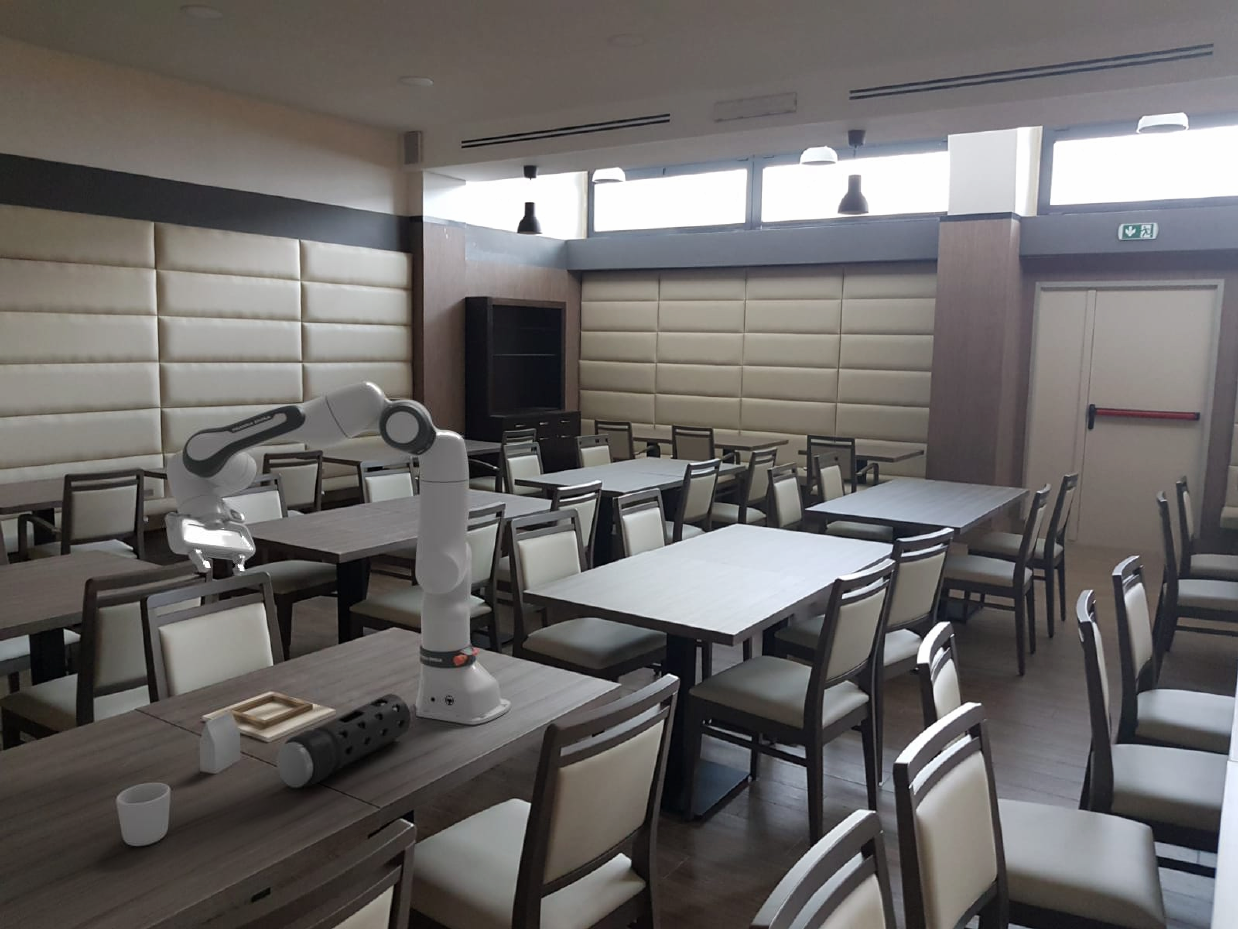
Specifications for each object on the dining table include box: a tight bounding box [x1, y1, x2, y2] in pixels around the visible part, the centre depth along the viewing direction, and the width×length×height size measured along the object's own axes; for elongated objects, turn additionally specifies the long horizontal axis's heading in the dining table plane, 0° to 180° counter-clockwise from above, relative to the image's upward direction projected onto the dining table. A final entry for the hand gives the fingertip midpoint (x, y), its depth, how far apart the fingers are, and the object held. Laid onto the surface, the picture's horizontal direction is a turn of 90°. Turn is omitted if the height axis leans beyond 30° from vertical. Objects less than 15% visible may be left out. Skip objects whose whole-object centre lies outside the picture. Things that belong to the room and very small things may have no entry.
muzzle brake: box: [275, 693, 411, 789], centre depth 179 cm, size 10×28×10 cm, turn 153°
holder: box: [202, 691, 337, 743], centre depth 203 cm, size 22×18×2 cm
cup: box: [115, 782, 171, 847], centre depth 152 cm, size 11×8×8 cm
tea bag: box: [198, 710, 242, 774], centre depth 178 cm, size 4×7×10 cm, turn 162°
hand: (223, 572), depth 191 cm, fingers open, 8 cm apart
